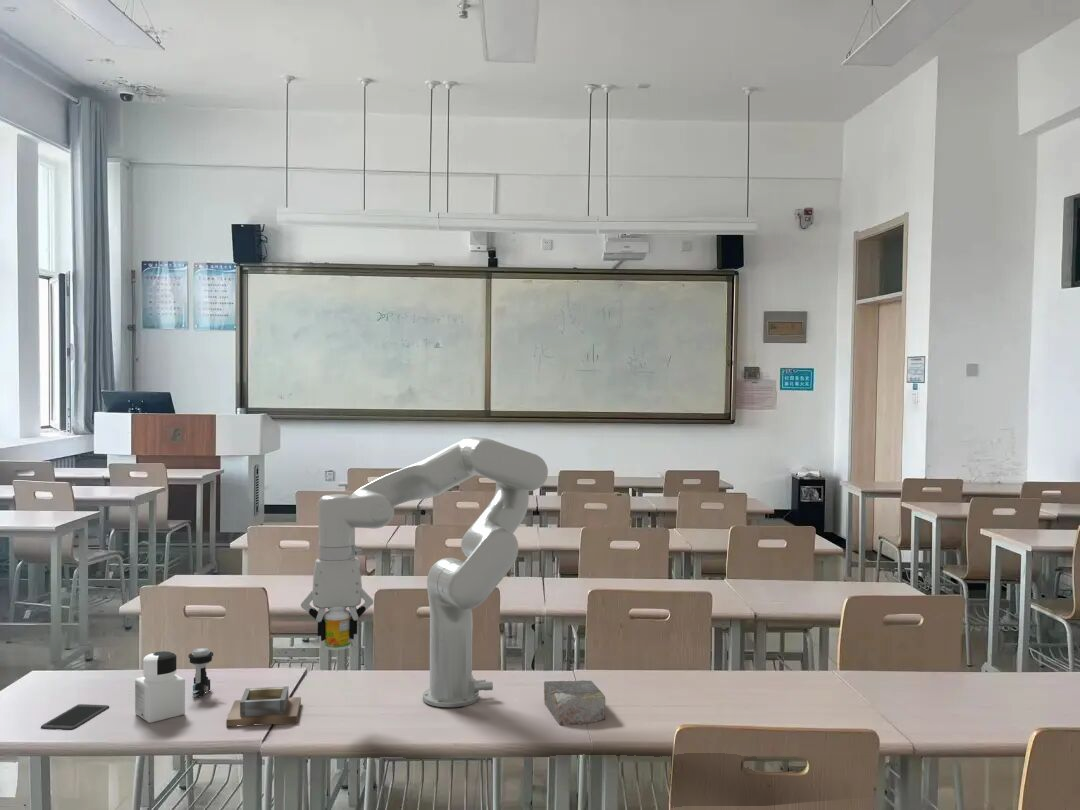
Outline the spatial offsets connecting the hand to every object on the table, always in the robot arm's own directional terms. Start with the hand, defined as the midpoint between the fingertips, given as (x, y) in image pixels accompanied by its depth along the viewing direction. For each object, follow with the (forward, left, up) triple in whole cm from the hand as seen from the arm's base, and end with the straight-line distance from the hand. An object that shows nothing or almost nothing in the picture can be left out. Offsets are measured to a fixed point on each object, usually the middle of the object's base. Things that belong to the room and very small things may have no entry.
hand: (337, 637), depth 197 cm
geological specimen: (-51, +5, -18) cm, 54 cm away
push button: (+31, -20, -17) cm, 41 cm away
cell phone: (+54, -9, -18) cm, 58 cm away
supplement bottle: (0, 0, -2) cm, 2 cm away
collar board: (+15, -4, -17) cm, 23 cm away
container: (+37, -8, -17) cm, 42 cm away
